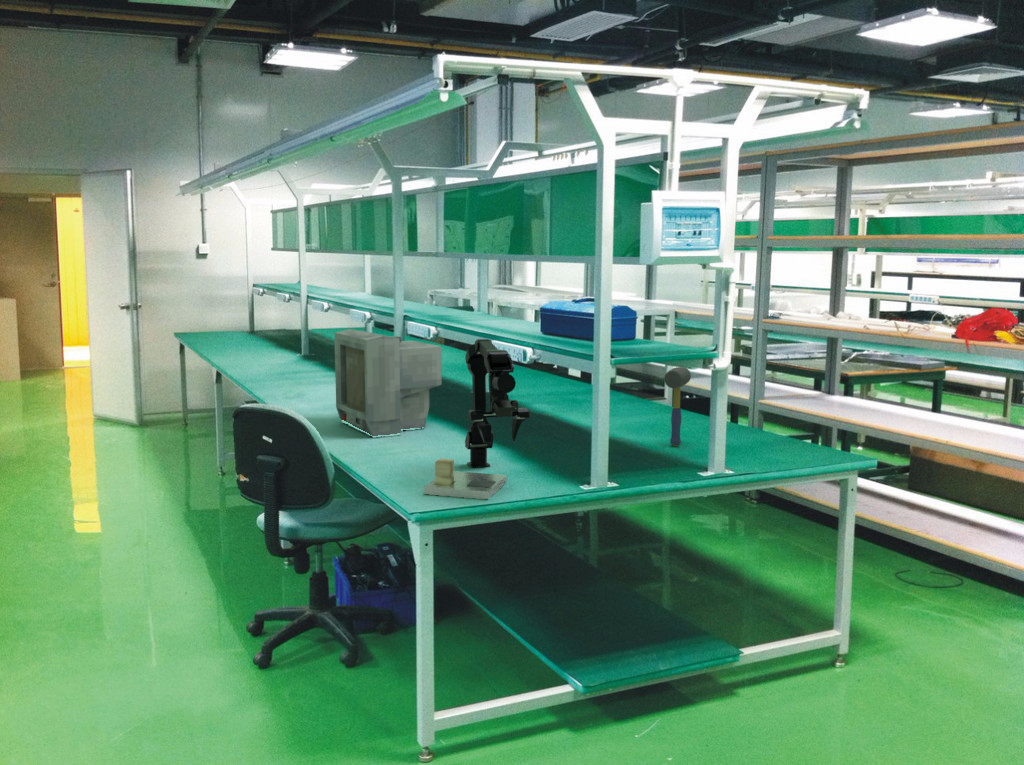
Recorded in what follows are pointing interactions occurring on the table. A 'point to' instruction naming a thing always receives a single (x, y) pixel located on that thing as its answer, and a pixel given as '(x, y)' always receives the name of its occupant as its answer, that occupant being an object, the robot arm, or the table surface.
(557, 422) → the table surface
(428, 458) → the table surface
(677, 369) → the rubber mallet
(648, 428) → the table surface
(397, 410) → the crt television
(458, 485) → the pocket plate
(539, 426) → the table surface
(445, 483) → the maple post
